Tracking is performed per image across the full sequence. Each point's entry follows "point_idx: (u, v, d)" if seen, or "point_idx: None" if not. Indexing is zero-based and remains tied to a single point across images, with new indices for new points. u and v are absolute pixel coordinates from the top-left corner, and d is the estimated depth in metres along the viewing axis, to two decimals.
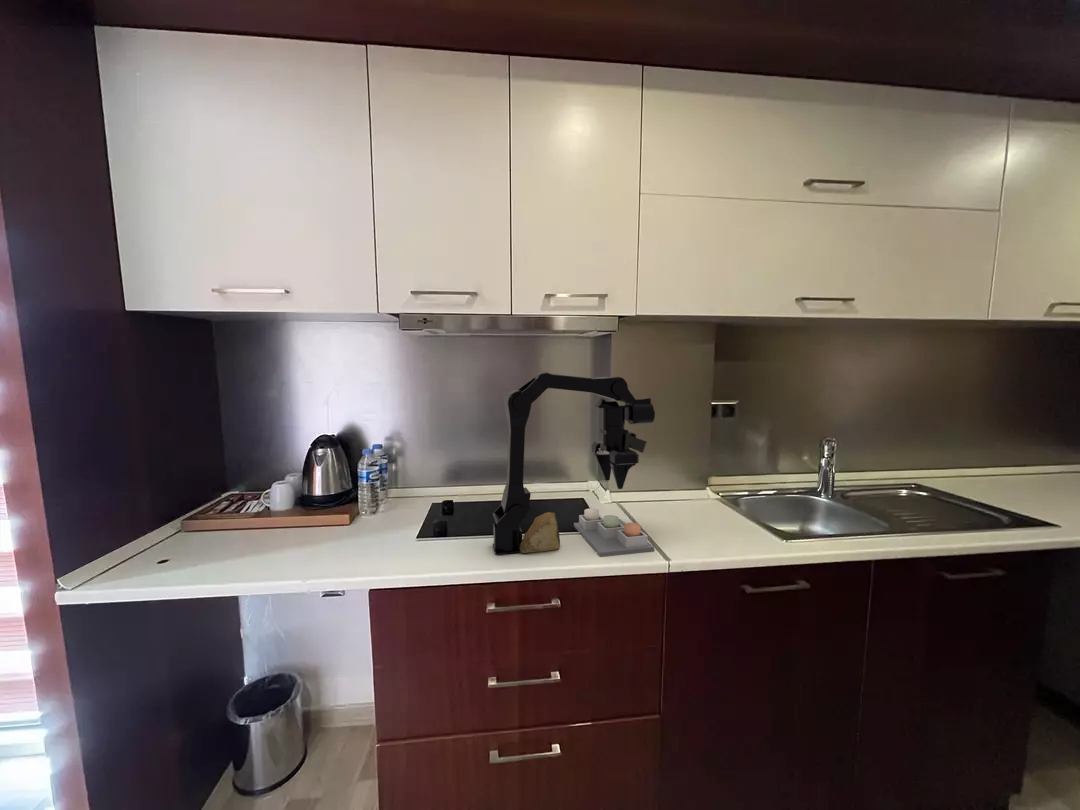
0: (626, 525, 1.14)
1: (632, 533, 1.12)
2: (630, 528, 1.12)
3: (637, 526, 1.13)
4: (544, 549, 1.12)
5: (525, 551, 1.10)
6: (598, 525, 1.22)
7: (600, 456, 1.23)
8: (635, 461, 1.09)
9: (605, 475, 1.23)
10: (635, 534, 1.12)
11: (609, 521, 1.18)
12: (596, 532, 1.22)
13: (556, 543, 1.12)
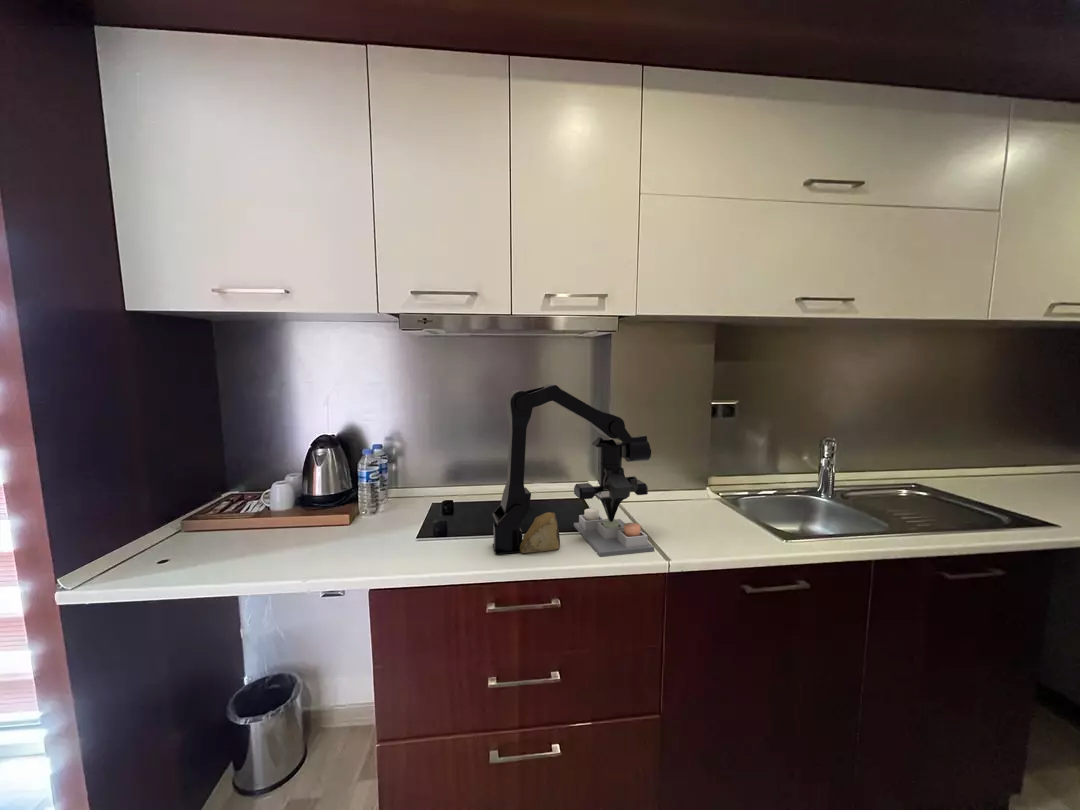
0: (626, 525, 1.14)
1: (632, 533, 1.12)
2: (630, 528, 1.12)
3: (637, 526, 1.13)
4: (544, 549, 1.12)
5: (525, 551, 1.10)
6: (598, 525, 1.22)
7: (610, 494, 1.22)
8: (579, 496, 1.16)
9: None
10: (635, 534, 1.12)
11: (609, 525, 1.19)
12: (596, 532, 1.22)
13: (556, 543, 1.12)
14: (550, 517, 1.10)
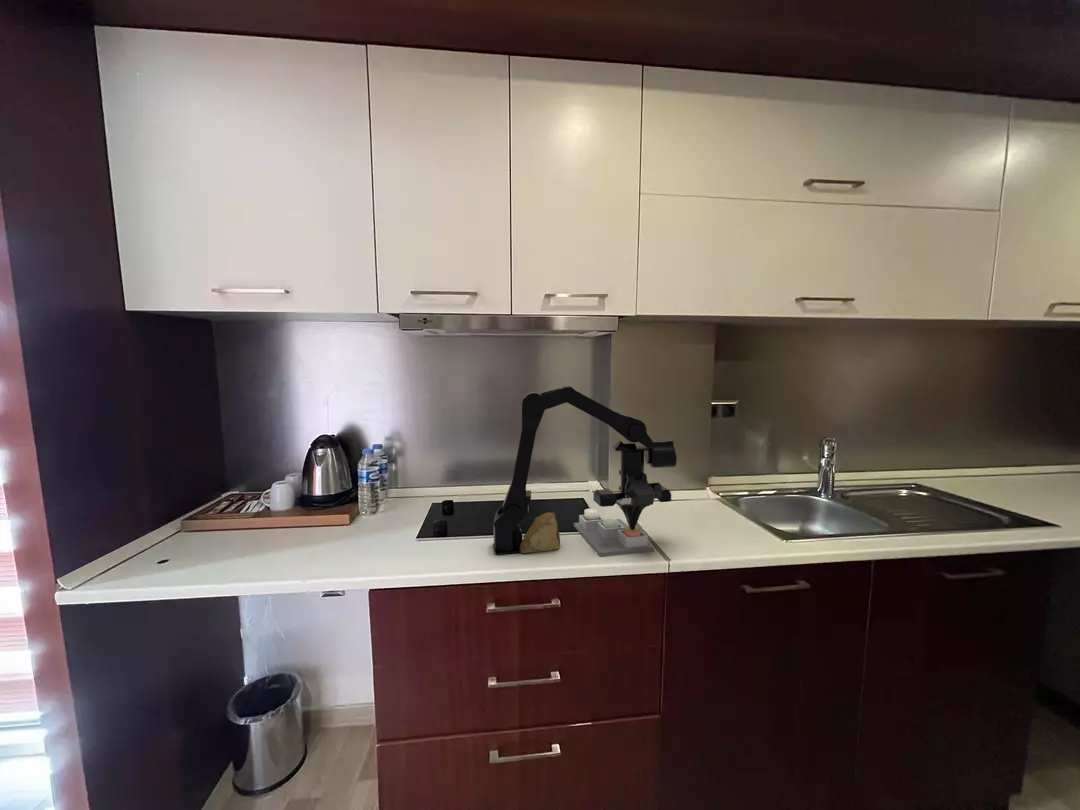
0: (626, 529, 1.14)
1: None
2: (630, 531, 1.12)
3: (637, 530, 1.13)
4: (544, 549, 1.12)
5: (525, 551, 1.10)
6: (598, 525, 1.22)
7: (631, 501, 1.16)
8: (599, 503, 1.10)
9: None
10: None
11: (609, 525, 1.19)
12: (596, 532, 1.22)
13: (556, 543, 1.12)
14: (550, 517, 1.10)
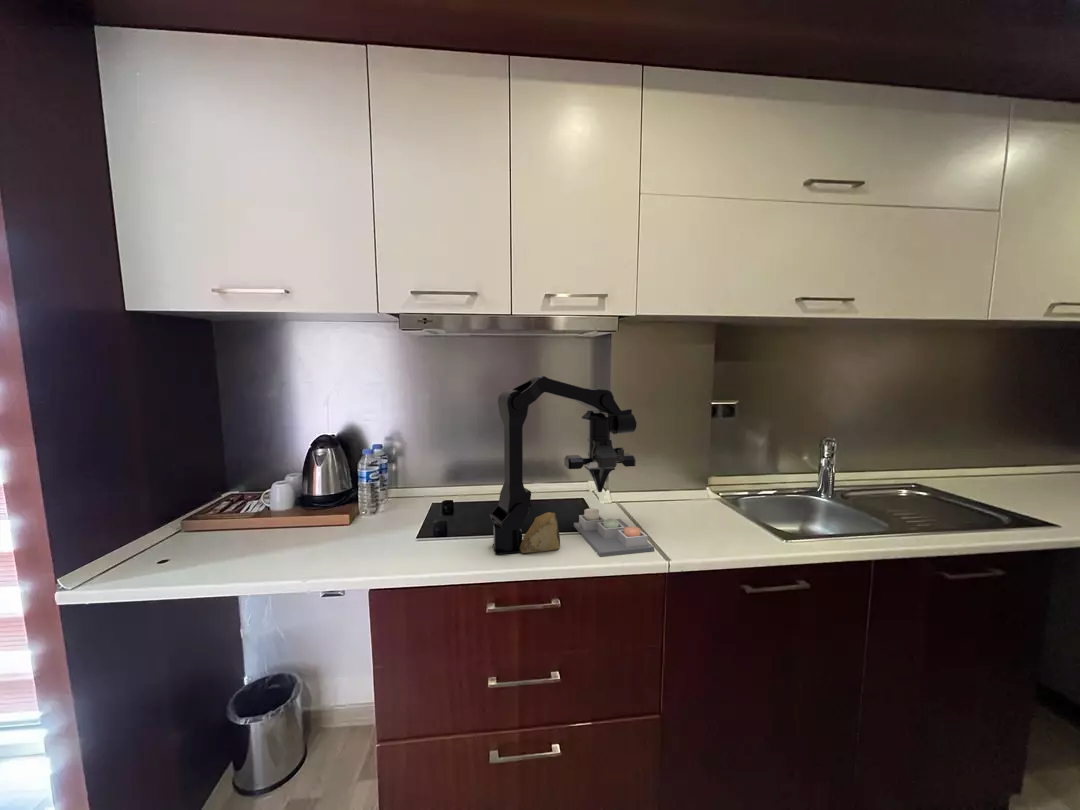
0: (626, 529, 1.14)
1: None
2: (630, 532, 1.12)
3: (637, 530, 1.13)
4: (544, 549, 1.12)
5: (525, 551, 1.10)
6: (598, 525, 1.22)
7: (600, 466, 1.26)
8: (568, 466, 1.21)
9: None
10: None
11: (609, 525, 1.19)
12: (596, 532, 1.22)
13: (556, 543, 1.12)
14: (550, 517, 1.10)
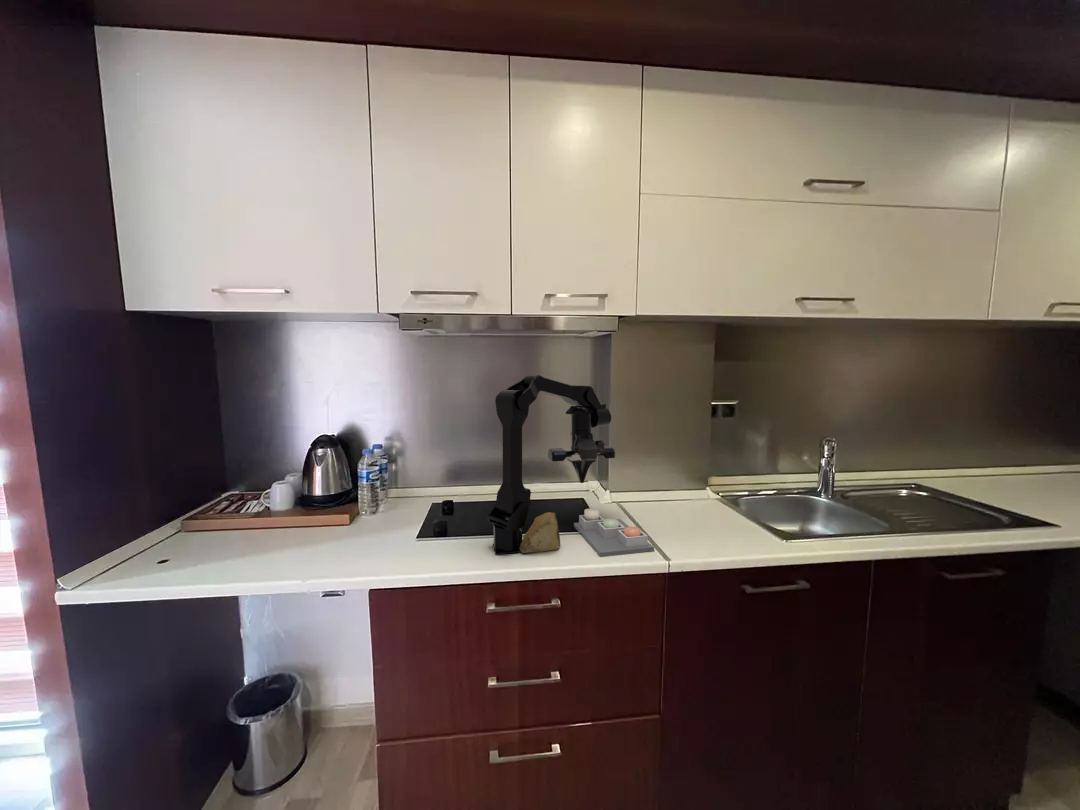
0: (626, 529, 1.14)
1: None
2: (630, 532, 1.12)
3: (637, 530, 1.13)
4: (544, 549, 1.12)
5: (525, 551, 1.10)
6: (598, 525, 1.22)
7: (581, 459, 1.33)
8: (551, 459, 1.27)
9: None
10: None
11: (609, 525, 1.19)
12: (596, 532, 1.22)
13: (556, 543, 1.12)
14: (550, 517, 1.10)
